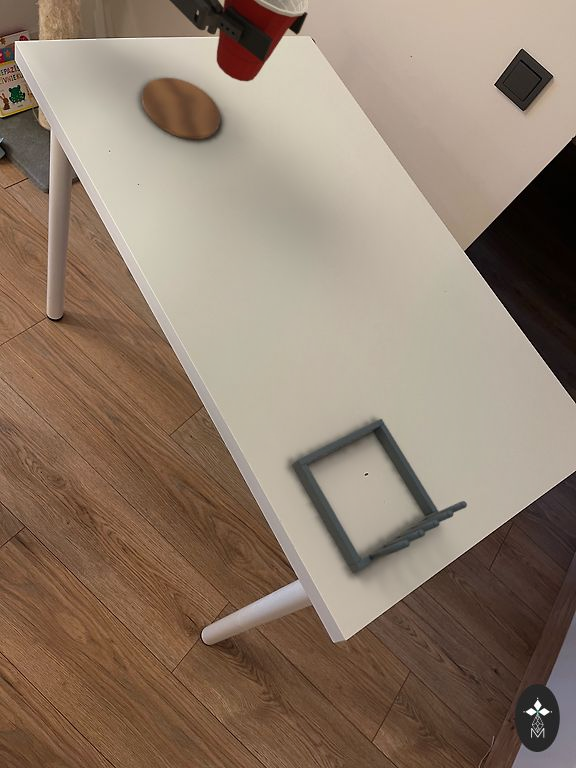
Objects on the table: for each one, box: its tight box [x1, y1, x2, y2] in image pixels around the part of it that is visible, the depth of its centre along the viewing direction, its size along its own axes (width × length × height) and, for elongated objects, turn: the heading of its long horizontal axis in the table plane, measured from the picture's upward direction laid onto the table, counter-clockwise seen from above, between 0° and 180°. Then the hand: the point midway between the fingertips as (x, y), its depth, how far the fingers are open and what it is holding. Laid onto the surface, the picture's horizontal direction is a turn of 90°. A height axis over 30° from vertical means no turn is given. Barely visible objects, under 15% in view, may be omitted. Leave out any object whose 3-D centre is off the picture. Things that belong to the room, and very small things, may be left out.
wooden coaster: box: [141, 77, 221, 140], centre depth 91 cm, size 12×12×1 cm
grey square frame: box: [291, 418, 468, 573], centre depth 70 cm, size 14×14×9 cm
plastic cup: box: [216, 0, 310, 82], centre depth 76 cm, size 11×11×12 cm
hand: (285, 37), depth 75 cm, fingers closed on plastic cup, 9 cm apart
